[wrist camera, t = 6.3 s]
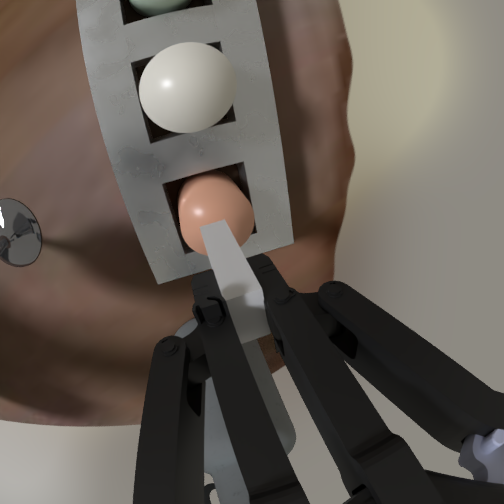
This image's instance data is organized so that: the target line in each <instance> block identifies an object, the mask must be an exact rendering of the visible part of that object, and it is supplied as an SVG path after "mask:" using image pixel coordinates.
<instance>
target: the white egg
mask: <svg viewBox="0 0 504 504" xmlns="http://www.w3.org/2000/svg"><path fill="white" fill-rule="evenodd" d="M236 90H237V80H236V74H235V71H234V69H233V66H232V64H231V63H230V61H229V60H228V59H227V57H226V56H225V55H224V54H222V53H221V52H220V51H219V50H217V49H216V48H214V47H212V46H209V45H206V44H203V43H197V42H185V43H179V44H176V45H172V46H170V47H168V48H166V49H164V50H162V51H161V52H159V53H158V54H157V55H156V56H155V57H154V58H153V59H152V60H151V61H150V62H149V63H148V65H147V66H146V68H145V69H144V71H143V74H142V76H141V80H140V85H139V96H140V101H141V104H142V107H143V109H144V111H145V113H146V114H147V115H148V117H149V118H150V119H151V120H152V121H153V122H154V123H156V124H157V125H159V126H160V127H162V128H164V129H166V130H169V131H172V132H178V133H192V132H197V131H201V130H204V129H206V128H208V127H210V126H212V125H214V124H215V123H217V122H218V121H219V120H220V119H221V118H223V117H224V116H225V114H226V113H227V112H228V111H229V109H230V107H231V106H232V103H233V101H234V99H235V95H236Z"/></svg>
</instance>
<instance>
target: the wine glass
mask: <svg viewBox="0 0 504 504" xmlns="http://www.w3.org/2000/svg"><path fill="white" fill-rule="evenodd" d="M40 250H41V232H40V228H39V225H38V223H37V221H36V219H35V217H34V215H33V214H32V212H31V211H30V210H29V209H28V208H27V207H26V206H25V205H24V204H22V203H21V202H19V201H17V200H14V199H9V198H8V199H1V200H0V259H1V260H2V261H3V262H5V263H6V264H8V265H11V266H14V267H25V266H27V265H30V264H31V263H33V262H34V261H35V260H36V258H37V257H38V255H39V253H40Z"/></svg>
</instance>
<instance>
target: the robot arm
mask: <svg viewBox="0 0 504 504" xmlns="http://www.w3.org/2000/svg"><path fill="white" fill-rule="evenodd" d="M200 230H201V234H202V237H203V241H204V244H205V247H206V250H207V254H208V257H209V260H210V264H211V267H212V270H209V271H206V272H203V273H200V274H197V275H194V276H193V279H192V282H191V285H192V290H193V295H194V299H195V303H194V305H193V308H192V312H193V314H194V316H195V319H196V321H197V323H198V325H197V327H196V328H195V329H194V330H193V332H191V333H190V334H189V335H187V336H185V337H184V338H181V337H179V336H168V337H165V338H163V339H162V340H160V341H159V342H158V343H157V344H156V346H155V349H154V352H153V357H152V362H151V368H150V373H149V378H148V384H147V390H146V396H145V402H144V408H143V415H142V421H141V429H140V436H139V444H138V452H137V461H136V470H135V482H134V494H133V504H204V428H205V391H206V380H207V379H208V378H210V377H212V381H213V384H214V388H215V391H216V395H217V398H218V402H219V405H220V409H221V412H222V416H223V419H224V422H225V425H226V429H227V432H228V435H229V438H230V441H231V444H232V447H233V451H234V454H235V457H236V459H237V462H238V465H239V468H240V471H241V474H242V477H243V480H244V482H245V485H246V488H247V491H248V494H249V502H250V504H310V503H309V501H308V499H307V497H306V494H305V492H304V490H303V488H302V486H301V484H300V483H299V481H298V479H297V477H296V475H295V473H294V470H293V468H292V466H291V463H290V461H289V459H288V457H287V455H286V452H285V450H284V448H283V445H282V443H281V441H280V438H279V436H278V434H277V432H276V429H275V427H274V424H273V422H272V420H271V417H270V415H269V413H268V410H267V408H266V405H265V403H264V400H263V398H262V396H261V393H260V391H259V388H258V386H257V383H256V381H255V378H254V376H253V373H252V371H251V368H250V365H249V363H248V360H247V358H246V355H245V353H244V350H243V347H242V345H241V344H243V343H246V342H249V341H252V340H255V339H257V338H260V337H263V336H266V335H269V334H271V332H272V334H273V336H274V342H275V347H276V352H277V353H278V352H280V355H281V357H282V359H283V361H284V363H285V365H286V367H287V369H288V371H289V373H290V375H291V377H292V379H293V381H294V383H295V385H296V386H297V389H298V390H299V393H300V395H301V397H302V399H303V401H304V403H305V405H306V407H307V408H308V411H309V413H310V415H311V417H312V419H313V420H314V423H315V424H316V426H317V428H318V430H319V432H320V434H321V436H322V438H323V440H324V442H325V444H326V446H327V448H328V450H329V452H330V454H331V455H332V457H333V459H334V461H335V463H336V465H337V467H338V469H339V471H340V474H341V478H342V481H343V483H344V485H345V487H346V489H347V491H348V493H349V495H350V497H351V498H349V499H348V500H347V501H346V502H344V503H343V504H504V393H501V392H497V391H494V390H492V389H491V388H490V387H488V386H487V385H486V384H485V383H483V382H482V381H481V380H479V379H478V378H476V377H475V376H474V375H473V374H471V373H470V372H469V371H467V370H466V369H465V368H463V367H462V366H461V365H459V364H458V363H456V362H455V361H454V360H453V359H451V358H450V357H448V356H447V355H445V354H444V353H443V352H442V351H440V350H439V349H438V348H436V347H435V346H433V345H432V344H431V343H429V342H428V341H427V340H425V339H424V338H422V337H421V336H420V335H418V334H417V333H415V332H414V331H413V330H411V329H409V328H408V327H407V326H405V325H404V324H403V323H401V322H400V321H399V320H397V319H395V318H394V317H393V316H392V315H390V314H389V313H387V312H386V311H384V310H383V309H382V308H380V307H379V306H377V305H376V304H374V303H373V302H372V301H370V300H369V299H367V298H366V297H364V296H363V295H361V294H360V293H359V292H357V291H356V290H354V289H353V288H351V287H350V286H348V285H347V284H345V283H343V282H340V281H329V282H326V283H324V284H323V285H322V286H320V288H319V291H318V292H315V293H298V292H297V291H296V290H295V289H293V288H290V287H289V286H288V285H287V283H286V282H285V280H284V279H283V277H282V276H281V274H280V273H279V271H278V270H277V268H276V267H275V265H274V264H273V262H272V261H271V259H270V258H269V257H268V256H266V255H264V254H262V253H261V254H258V255H254V256H251V257H248V258H245V256H244V254H243V252H242V251H241V249H240V247H239V245H238V243H237V241H236V239H235V238H234V236H233V234H232V232H231V230H230V228H229V226H228V224H227V223H226V221H225V219H224V220H221V221H217V222H214V223H211V224H207V225H204V226H201V227H200ZM270 330H271V332H270ZM344 360H345V361H346V362H347V363H348V364H349V365H350V366H351V367H352V368H354V369H355V370H356V371H357V372H358V373H359V374H360V375H361V376H363V377H364V378H365V379H366V380H367V381H368V382H369V383H371V384H372V385H373V386H374V387H375V388H376V389H377V390H379V391H380V392H381V393H382V394H383V395H384V396H385V397H386V398H388V399H389V400H390V401H391V402H392V403H393V404H395V405H396V406H397V407H398V408H399V409H400V410H402V411H403V412H404V413H405V414H406V415H407V416H408V417H410V418H411V419H412V420H413V421H414V422H415V423H417V424H418V425H419V426H420V427H421V428H422V429H424V430H425V431H426V432H427V433H428V434H430V435H431V436H432V437H433V438H434V439H436V440H437V441H438V442H440V443H441V444H442V445H444V446H446V447H447V448H449V449H451V450H453V451H456V452H459V453H460V457H459V460H458V462H459V465H460V466H461V467H464V468H466V469H467V470H469V471H470V472H471V473H472V475H473V478H474V480H471V479H465V478H459V477H455V476H450V475H446V474H441V473H437V472H433V471H429V470H424V469H423V467H422V466H421V464H420V463H419V461H418V460H417V458H416V456H415V455H414V453H413V452H412V450H411V449H410V447H409V446H408V444H407V443H406V442H405V440H404V439H403V438H402V437H400V436H399V435H396V434H393V433H392V432H391V431H390V430H389V429H388V427H387V426H386V424H385V423H384V421H383V420H382V418H381V416H380V415H379V413H378V412H377V410H376V409H375V408H374V406H373V404H372V403H371V401H370V400H369V398H368V396H367V395H366V393H365V392H364V390H363V389H362V387H361V386H360V384H359V383H358V381H357V380H356V378H355V377H354V375H353V374H352V372H351V371H350V369H349V368H348V366H347V365H346V363H345V362H344Z"/></svg>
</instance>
